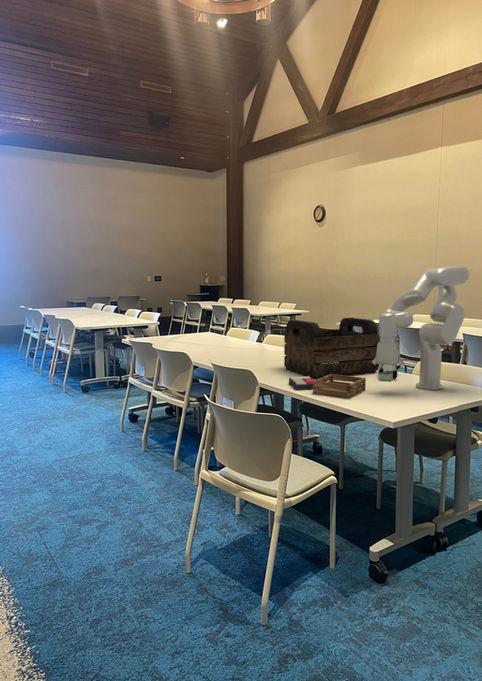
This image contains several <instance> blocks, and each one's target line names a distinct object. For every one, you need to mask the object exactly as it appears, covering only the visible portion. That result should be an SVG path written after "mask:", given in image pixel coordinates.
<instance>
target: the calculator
mask: <svg viewBox="0 0 482 681" xmlns="http://www.w3.org/2000/svg"><path fill="white" fill-rule="evenodd" d="M314 380H315V379H312V378H310V377H309V376H308V377H306V376H290V377H289V378H288V384H289V386H291V387H292V388H293V389H294V391H295V390H296V391H313V381H314Z"/></svg>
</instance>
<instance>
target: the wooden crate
mask: <svg viewBox="0 0 482 681" xmlns="http://www.w3.org/2000/svg"><path fill="white" fill-rule="evenodd" d="M338 327H339V328H335V329H322V330H321V328H320V325H319V324H318V323H317V322H314V321H313V322H312V321H306V320H301V319H300V320H299V319H294V320H293V319H291V320H288V322H287V323H286V326H285V331H284V333H283V334H284V335H283V336H284V337H283V339H284V344H283V345H284V347H283V348H284V353H283V354H284V360H283V361H284V364H283V365H284V367H285V370H286V371H288V372H291V373H295V374H297V375H300V376H302V377H308V376H309V377H310V378H312V379H313V380H317V379H320V378H322V377H325V376H327V375H330V374H335V375H343V376H357V375H358V374H359V375H366V374H365V373H369V374H375V373H374V372H376V373H377V371H378V368H377V367H376V366H375V365H374V364H373V363H372V361H373V360H374V358H375V357H376V352H377V345H378V342H379V328H378V326H377V323H376V322H375V321H374V320H373V319H367V318H357V317H344V318H342V319H341V320H340V322H339V326H338ZM354 327H359V328H361V330H362V332H360V331H354ZM300 330H301V331H300Z"/></svg>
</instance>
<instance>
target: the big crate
mask: <svg viewBox="0 0 482 681" xmlns="http://www.w3.org/2000/svg"><path fill="white" fill-rule="evenodd" d="M313 380H314V381H313V390H312V394H313V395H320V396H327V397H334V398H340V399H347V400H349V399H351V398H353V397H356V396H358V395H359V394H362V393H363V392H365V391H366V385H367V384H366V382H367V381H366V380H367V379H366V377H359V376H353V375H349V376H343V375H335V374H330V375H327V376H325V377H322V378H320V379H313Z"/></svg>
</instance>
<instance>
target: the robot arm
mask: <svg viewBox="0 0 482 681" xmlns="http://www.w3.org/2000/svg"><path fill="white" fill-rule="evenodd" d="M469 278H470V271H469V269H468V268H467V267H465V266H463V265H456V266H455V265H454V266H453V265H451V266H440V267H431V268H426V269H424V270H423V271H422V272H421V273H420V275H418V277H417V278H416V280H415V282H414V283H413V284H412V286H411V287H410V289H409V290H408V291H406V292H405V293H403V294H402V295H401V296H399V297H398V298H396V299H395V300H394V301H393V302H392V303H391V304H390V305H389V307H388V308H387V310H386V311H385V312H383V313H380V314H379V315H378V334H379V342H378V345H377V352H376V357H375V358H374V360H373V361H372V363H373V364H374V365H375V366H376V367H377V368H378V370H379V374H380V373H382V372H384V369H383V368H382V367H383V364H389V365H392V366H393V369H394V371H393V379H396V380H397V378H398V370H399V369H400V368H402V367H403V366H404V365H405V362H404V360H403V359H402V358H401V350H400V345H399V342H398V341H400V337H398V336H397V329H398V328H400V329H406V328H408V327H411V325H412V324H414V316H413V314H411V313H410V312H408V311H405V310H407V309H408V308H411V307H414V306H416V305H419V304H422V303H424V302H425V301H426V300H427V298H428V297H429V295H430V294H431V292H433V290H434V289H435V288H436V287H437V288H438V293H437V296H436V299H435V301H434V304H433V305H432V308H431V311H430V314H429V315H430V316H429V317H430V319H431V320H432V321H433V322H437V323H433V322H428V323H427V322H426V323H425V324H422V325H421V327H420V328H419V330H418V331H419V332H418V335H419V336H418V337H419V342H420V360H419V382H417V383H416V384H415V387H416V388H418V389H421V390H427V391H429V390H430V391H439V390H443V389H444V385H443V384H441V377H442V376H441V375H442V374H441V373H442V355H443V354H442V348H441V345H442V346H449V345H451V344H453V343H454V342H455V340H456V338H457V336H458V334H459V331H460V329H461V327H462V324H463V322H464V320H465V310H464V308H463V306H462V305H461V304H459V303H456V299H457V295H458V294H457V290H456V288H455V286H458V285H463V284H465V283H467V281H468V280H469ZM378 363H379V364H378ZM378 370H377V371H378ZM396 377H397V378H396Z"/></svg>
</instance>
